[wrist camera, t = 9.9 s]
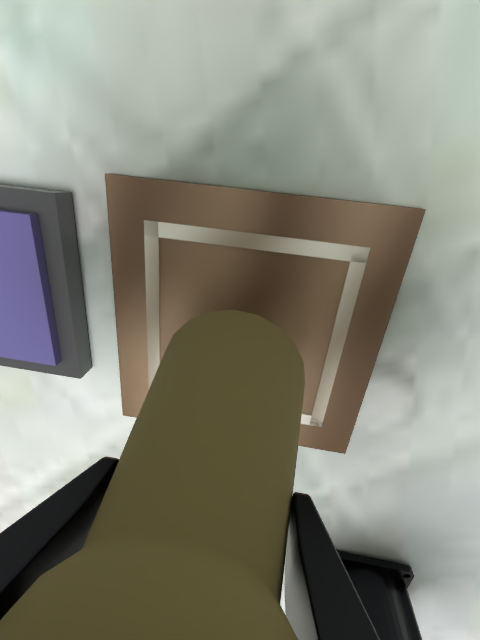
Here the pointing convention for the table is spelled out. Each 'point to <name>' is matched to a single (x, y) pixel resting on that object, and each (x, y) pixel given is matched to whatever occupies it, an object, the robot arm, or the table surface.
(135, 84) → the table surface
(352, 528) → the table surface
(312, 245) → the marked board
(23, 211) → the ink pad
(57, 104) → the table surface
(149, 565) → the cork
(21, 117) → the table surface
